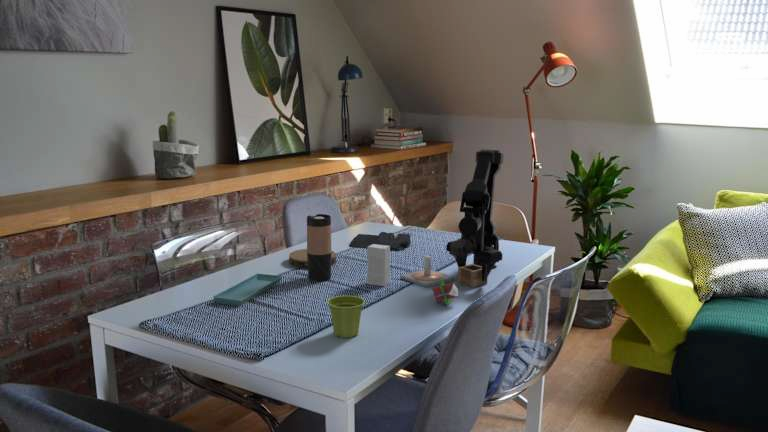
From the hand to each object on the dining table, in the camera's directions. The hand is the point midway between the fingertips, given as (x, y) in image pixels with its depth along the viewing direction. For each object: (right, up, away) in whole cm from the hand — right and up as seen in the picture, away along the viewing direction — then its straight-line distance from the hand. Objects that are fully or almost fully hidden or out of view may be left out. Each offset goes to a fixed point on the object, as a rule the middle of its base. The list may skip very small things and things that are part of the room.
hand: (472, 277), depth 224 cm
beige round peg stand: (-14, -1, +4) cm, 15 cm away
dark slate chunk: (-29, +8, +47) cm, 56 cm away
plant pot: (-37, -11, -42) cm, 57 cm away
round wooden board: (-52, +3, +23) cm, 57 cm away
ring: (0, -2, 0) cm, 2 cm away
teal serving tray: (-68, -4, -9) cm, 68 cm away
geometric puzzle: (-10, -6, -18) cm, 22 cm away
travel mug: (-48, -1, +4) cm, 48 cm away
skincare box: (-29, -2, -1) cm, 29 cm away
